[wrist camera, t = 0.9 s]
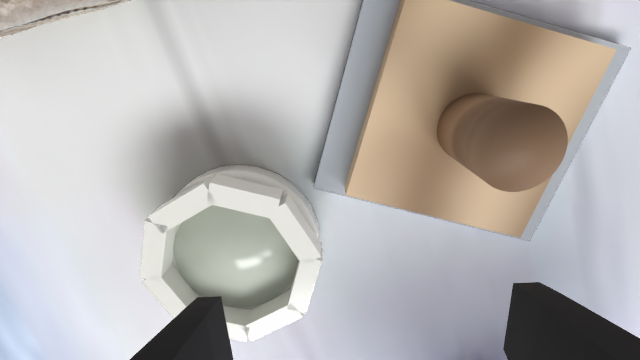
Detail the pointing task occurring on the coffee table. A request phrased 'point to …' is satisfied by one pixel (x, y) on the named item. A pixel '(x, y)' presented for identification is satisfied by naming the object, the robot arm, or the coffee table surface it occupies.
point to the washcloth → (44, 12)
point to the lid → (471, 114)
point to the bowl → (235, 249)
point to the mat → (362, 79)
